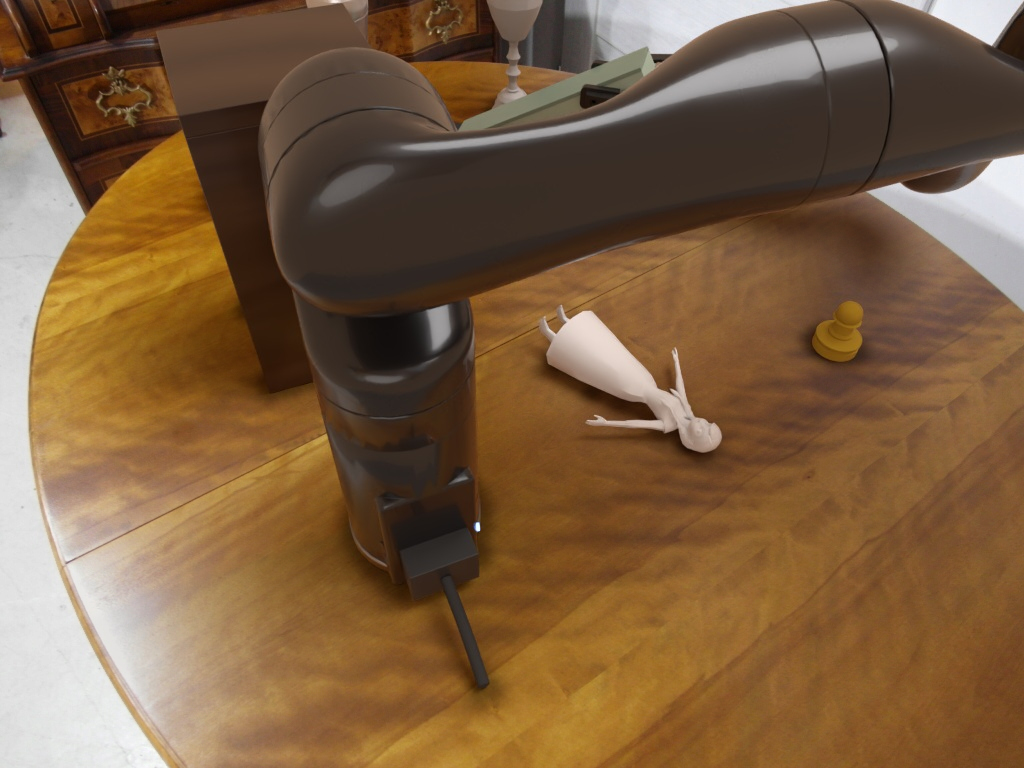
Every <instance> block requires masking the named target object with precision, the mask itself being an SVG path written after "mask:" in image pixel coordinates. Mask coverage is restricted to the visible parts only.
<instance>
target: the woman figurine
mask: <svg viewBox="0 0 1024 768" xmlns="http://www.w3.org/2000/svg"><path fill="white" fill-rule="evenodd" d="M555 312H556V315H555V317H556V318H557V320H558V321H559V322H560V323H561V324H563V325H562V327H560V329H559V330H558V331H557V333H556V332H554V331H553V330H552V329H550V327H549V324H548V322H547V320H546V318H547V316H543V317H542V318H540V319H539V320H538V331H539V332H540V333H541V334H542V335H543V336H544V337H545V338H546V339H547V340H548V341H549V343H550V345H549V347H548V350H547V351H546V354H545V356H546V361H547V364H548V365H549V366H551V367H553V368H555V369H557V370H559V371H561V372H562V373H565V374H567V375H568V376H571V377H572V378H575V379H576V380H578V381H580V382H582V383H585V384H587V385H590V386H592V387H594V388H596V389H598V390H601V391H603V392H605V393H607V394H610V395H612V396H614V397H617V398H619V399H621V400H624V401H628V402H632V403H633V402H634V403H635V402H637V403H638V402H639V403H643V404H646V405H647V406H648V408H649V409H650V411H652V413H653V415H654V417H655V418H656V419H653V420H649V419H647V420H645V419H627V420H626V419H625V420H606V419H605V418H604V417H603V416H600V415H598V414H594V415H593V417H595V418H597V419H596V420H591V419H586V421H585V424H586V425H588V426H593V427H618V428H626V429H648V430H656V431H660V432H662V433H663V434H667V433H670V432H675V431H677V430H678V433H679V434H678V435H679V438H680V441H681V443H682V445H683V446H684V447H685V448H686V449H688V450H691V451H695V452H697V453H702V454H703V453H708V452H712V451H715V450H716V449H717V448H718V447H719V445H720V444H721V442H722V439H723V434H722V431H721V429H720V427H719V426H718V425H717V424H716V423H715V422H712V423H711V422H708V420H707V419H705V418H702V417H696V416H695V415H694V412H693V411H692V406H691V404H689V401H688V398H687V394H686V389H685V385H684V384H685V383H684V379H683V375H682V371H681V366H680V360H679V354H678V351H677V347H673V349H672V350H671V353H670V354H671V355H672V357H673V358H672V359H673V364H674V371H675V389H673V388H669V390H670V392H671V393H670V392H669V391H666V390H663V389H661V388H658V386H657V383H656V381H655V379H654V377H653V375H652V374H651V372H650V371H649V370H648V369H647V367H645V366H644V365H643V364H642V363H641V362H640V361H639V359H637V358H636V357H635V356H634V355H633V354H632V353H631V352H630V351H629V350H628V349H627V348H626V347H625V345H624V344H623V343H622V342H621V341H620V340H619V339H618V338H617V336H616V335H615V334H614V333H613V332H612V331H611V330H610V328H608V326H607V325H606V324H605V323H604V322H603V321H602V320H601V319H600V318H599V317H598V315H596V313H594V312H593V310H582V311H581V312H579V313H577V314H576V315H573V316H572V318H568V317H567V315H566V314H565V310H564V308H563V304H560V305H558V306H557V307H556V310H555Z"/></svg>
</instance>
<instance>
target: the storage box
mask: <svg viewBox="0 0 1024 768" xmlns="http://www.w3.org/2000/svg"><path fill="white" fill-rule="evenodd" d="M651 54H652V53H651V52H650V49H649V45H647V46H644V47H642V48H640V49H637V50H634V51H632V52H629V53H626V54H625V55H622V56H619V57H618V58H615V59H612V60H610V62H607V63H605V64H602V65H600V66H597V67H595V68H592V69H591V68H590V69H587V70H585V71H582V72H580V73H578V74H575V75H572V76H571V77H568V78H565V79H563V80H561V81H558V82H556V83H553V84H551V85H548V86H546V87H543V88H541V89H538V90H536V91H534V92H533V91H532V93H529V94H527V95H526V96H523V97H521V98H518V99H516V100H514V101H511V102H509V103H506V104H504V105H501V106H499V107H496V108H494V109H492V108H491V109H489V110H487V111H484V112H482V113H479V114H477V115H474V116H471V117H469V118H467V119H464V120H463V121H462V123H461V124H462V125H461V127H460V128H459V130H458V131H469V130H482V129H490V128H497V127H505V126H510V125H516V124H521V123H527V122H532V121H538V120H543V119H548V118H554V117H559V116H563V115H567V114H570V113H574V112H578V111H582V110H584V108H582V107H581V106H580V93H581V89H582V87H583V85H585V84H591V85H596V86H604V87H611V88H618V89H620V91H621V90H626V89H627V88H629V87H630V86H632V85H633V84H635V83H636V82H638V81H639V80H640V79H641V78H643V77H644V76H645V75H646V74H648V73H649V72H650V71H651V70H653V69H654V68H655V64H654V61H653V59H652V56H651Z"/></svg>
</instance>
